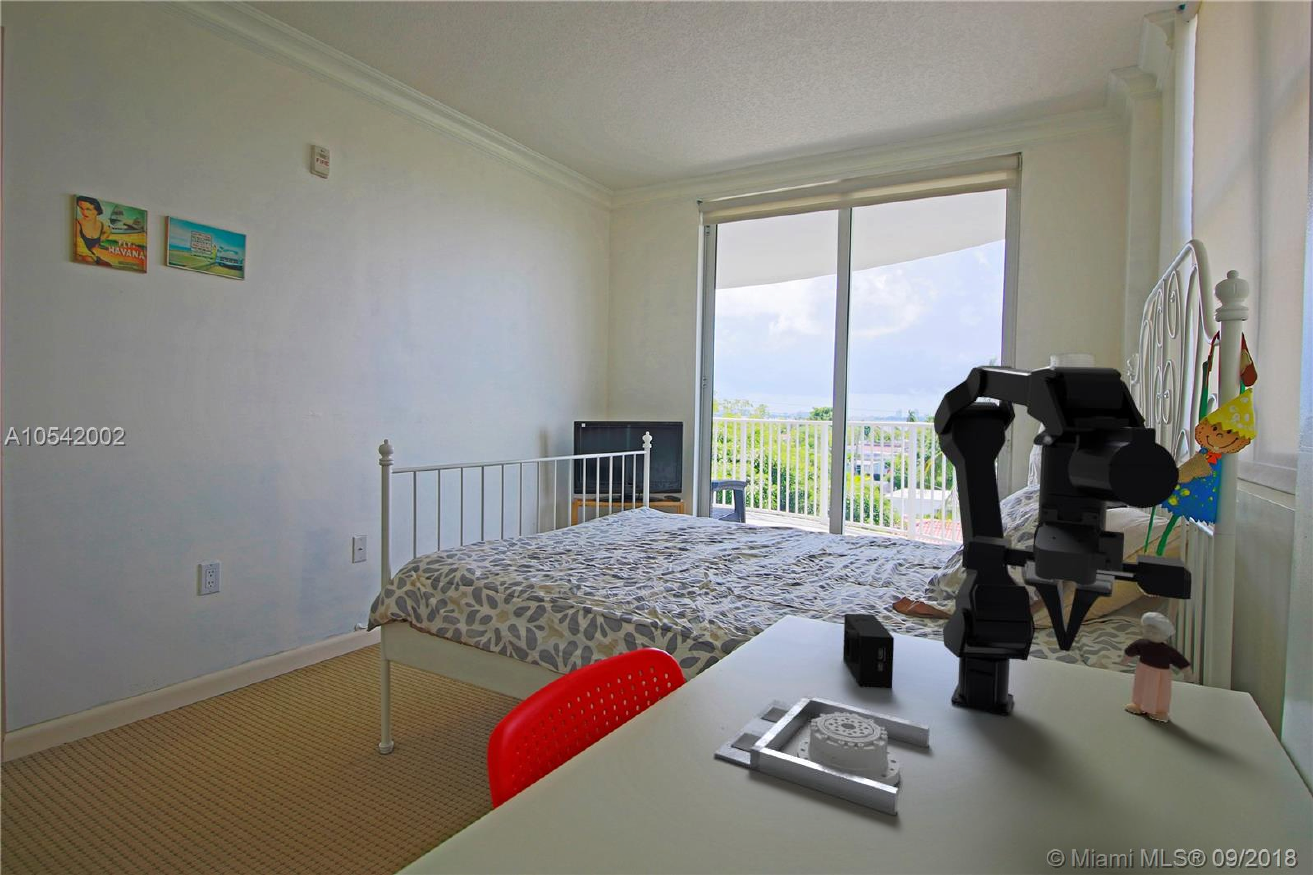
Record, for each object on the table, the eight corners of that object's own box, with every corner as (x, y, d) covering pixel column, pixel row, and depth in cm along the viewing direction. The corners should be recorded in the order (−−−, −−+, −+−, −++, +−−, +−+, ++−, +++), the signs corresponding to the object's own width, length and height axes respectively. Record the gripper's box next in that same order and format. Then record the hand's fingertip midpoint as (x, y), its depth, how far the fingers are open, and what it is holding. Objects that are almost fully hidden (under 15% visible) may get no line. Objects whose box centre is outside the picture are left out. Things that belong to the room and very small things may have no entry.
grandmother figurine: (1112, 710, 83) (1117, 609, 83) (1118, 701, 86) (1122, 603, 86) (1191, 731, 78) (1196, 623, 77) (1194, 721, 81) (1199, 617, 80)
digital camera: (834, 659, 99) (836, 612, 99) (872, 660, 99) (873, 613, 98) (850, 687, 89) (851, 634, 88) (892, 689, 88) (894, 636, 88)
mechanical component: (796, 788, 64) (906, 803, 62) (798, 743, 64) (908, 756, 62) (797, 740, 74) (892, 752, 72) (798, 700, 74) (893, 711, 72)
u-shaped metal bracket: (774, 703, 83) (774, 687, 83) (928, 744, 73) (929, 726, 73) (714, 756, 69) (714, 737, 69) (894, 815, 60) (895, 793, 59)
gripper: (954, 492, 65) (947, 651, 65) (1202, 513, 54) (1191, 702, 55) (974, 484, 74) (968, 623, 75) (1190, 500, 63) (1181, 662, 64)
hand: (1064, 650), depth 67 cm, fingers closed
